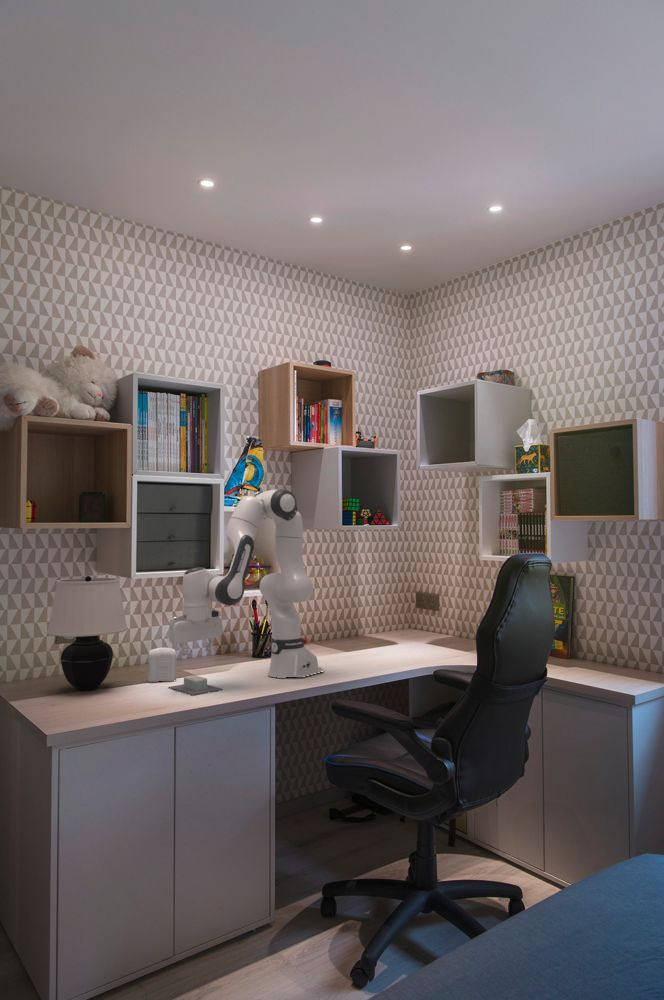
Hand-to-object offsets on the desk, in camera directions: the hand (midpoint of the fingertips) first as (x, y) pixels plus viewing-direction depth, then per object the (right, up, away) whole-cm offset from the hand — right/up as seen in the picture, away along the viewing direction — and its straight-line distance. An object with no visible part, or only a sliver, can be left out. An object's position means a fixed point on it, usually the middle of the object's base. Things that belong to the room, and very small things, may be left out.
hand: (197, 653), depth 249 cm
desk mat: (0, -13, -1) cm, 13 cm away
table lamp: (-39, -13, 0) cm, 41 cm away
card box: (0, -12, -1) cm, 12 cm away
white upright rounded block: (-16, -14, +13) cm, 24 cm away
